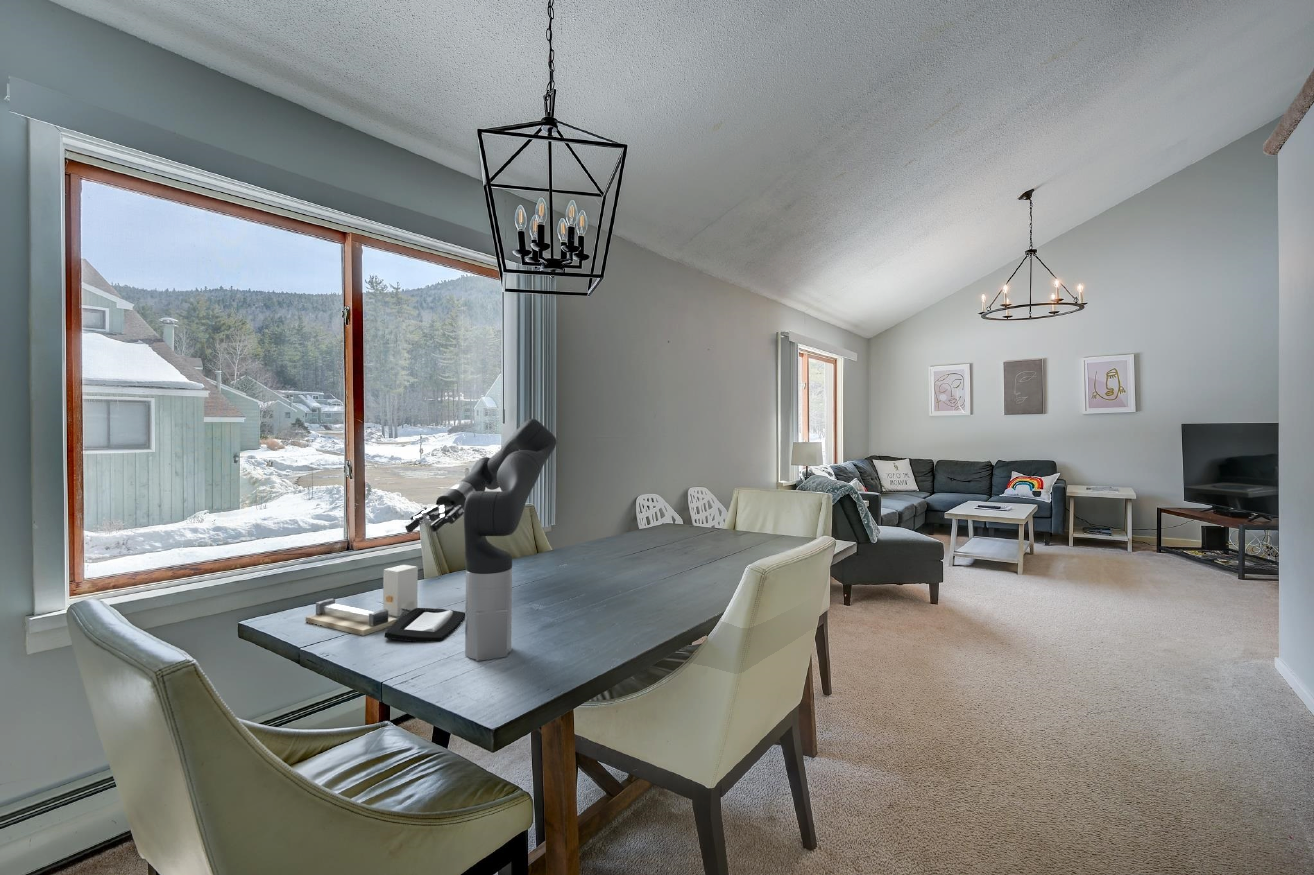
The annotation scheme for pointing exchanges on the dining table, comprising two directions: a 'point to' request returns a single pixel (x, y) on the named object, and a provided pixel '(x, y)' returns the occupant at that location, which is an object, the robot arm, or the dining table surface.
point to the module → (400, 589)
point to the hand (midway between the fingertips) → (419, 529)
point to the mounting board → (347, 624)
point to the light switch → (425, 625)
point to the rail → (351, 613)
